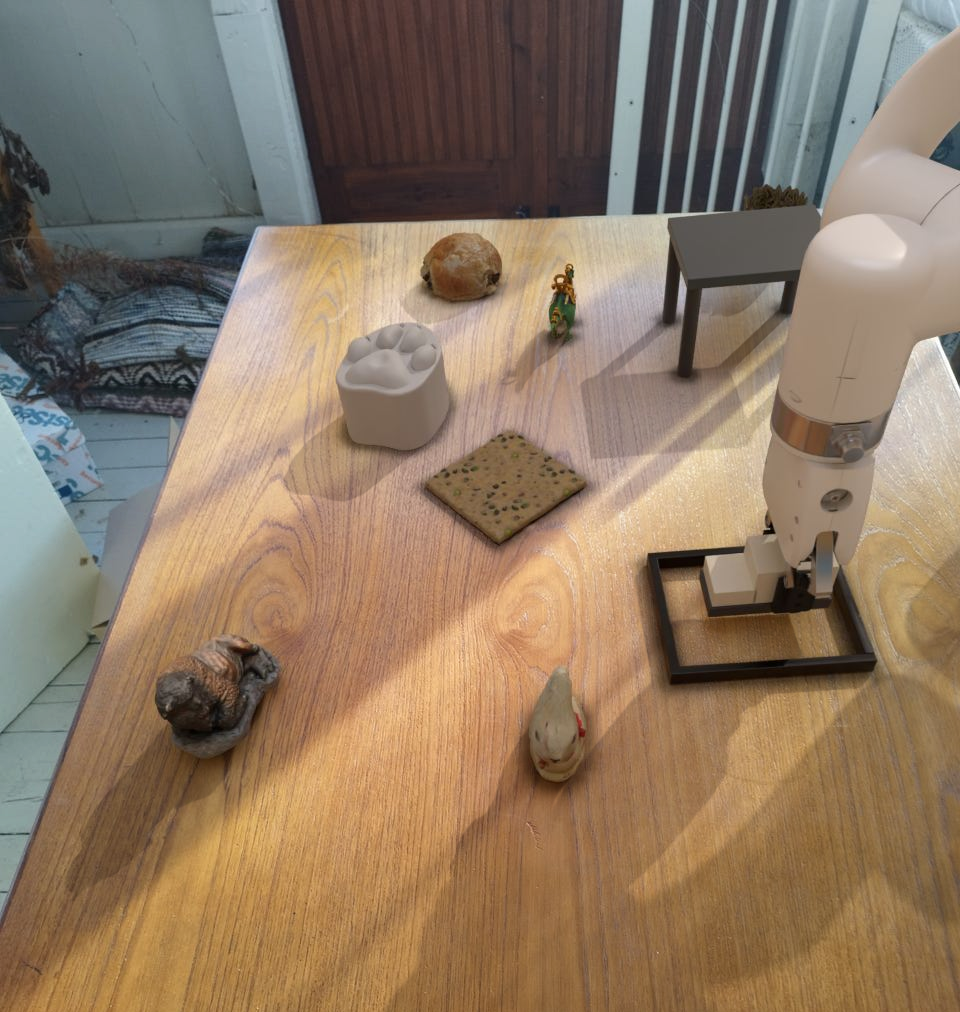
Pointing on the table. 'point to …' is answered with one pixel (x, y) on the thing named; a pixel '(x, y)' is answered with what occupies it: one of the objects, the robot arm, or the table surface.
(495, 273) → the bread roll
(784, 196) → the olive lumpy mound
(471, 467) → the cookie
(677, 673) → the black rectangular frame
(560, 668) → the chocolate bunny
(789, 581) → the robot arm
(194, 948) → the table surface
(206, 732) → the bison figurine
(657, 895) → the table surface
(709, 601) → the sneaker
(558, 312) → the figurine
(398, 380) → the lumpy-topped squat cylinder
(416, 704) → the table surface
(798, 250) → the small grey table
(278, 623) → the table surface
